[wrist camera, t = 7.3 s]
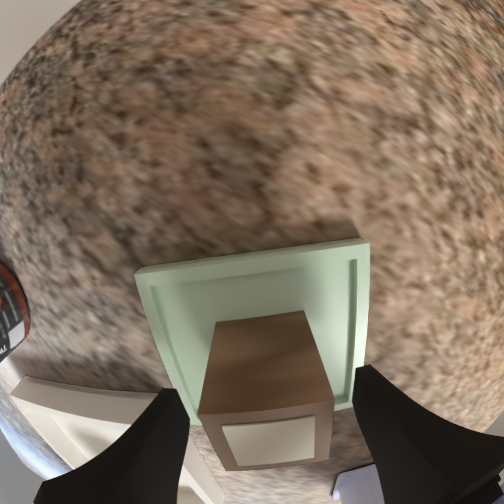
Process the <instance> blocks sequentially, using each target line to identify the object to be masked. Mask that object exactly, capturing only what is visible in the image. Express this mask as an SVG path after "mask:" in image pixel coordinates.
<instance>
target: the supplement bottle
mask: <svg viewBox="0 0 504 504" xmlns="http://www.w3.org/2000/svg"><path fill="white" fill-rule="evenodd" d="M29 330H30V314H29V309H28V306H27V302H26V299H25V297H24V294H23V292H22V290H21V288H20V286H19V284H18V283H17V281H16V279H15V278H14V277H13V275H12V274H11V273H10V271H9V270H8V269H7V268H6V267H4V266H3V265H2V264H0V362H1V361H2V360H3V359H4V358H5V357H7V356H8V355H9V354H10V353H11V352H12V351H13V350H14V349H15V348H16V347H17V346H18V345H19V344H20V343H22V341H23V340H24V339H25V338H26V337H27V335H28V333H29Z"/></svg>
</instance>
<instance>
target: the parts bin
mask: <svg viewBox="0 0 504 504" xmlns="http://www.w3.org/2000/svg"><path fill="white" fill-rule="evenodd" d="M158 394H159V393H146V392H129V391H117V390H106V389H97V388H89V387H82V386H75V385H69V384H63V383H58V382H52V381H47V380H43V379H38V378H33V377H29V376H25V377H24V378H23V379H22V380H21V382H20V383H19V384H18V385H17V386H16V388H15V389H14V390H13V391H12V392H11V394H10V396H11V398H12V399H13V401H14V402H15V404H16V405H17V406H18V408H19V409H20V411H21V412H22V413H23V414H24V416H25V417H26V418H27V420H28V421H29V422H30V423H31V425H32V426H33V427H34V428H35V430H36V431H37V432H38V433H39V434H40V435H41V437H42V438H43V439H44V440H45V441H46V442H47V443H48V444H49V446H50V447H51V448H52V449H53V450H54V451H55V452H56V453H57V454H58V455H59V456H60V457H61V458H62V459H63V460H64V461H65V462H66V463H67V464H68V465H69V466H70V467H71V468H72V469H73V470H74V469H76V468H78V467H80V466H81V465H83V464H85V463H86V462H88V461H89V460H91V459H92V458H94V457H95V456H97V455H98V454H100V453H101V452H103V451H104V450H105V449H106V448H108V447H109V446H110V445H111V444H112V443H114V442H115V441H116V440H117V439H118V438H119V437H120V436H121V435H122V434H123V433H124V432H125V431H126V430H127V429H128V428H129V427H130V426H131V425H132V424H133V423H134V422H135V421H136V419H137V418H138V417H139V416H140V415H141V414H142V413H143V411H144V410H145V409H146V408H147V407H148V406H149V404H150V403H151V402H152V401H153V400H154V398H155V397H156V396H157V395H158ZM223 501H224V490H223V489H222V487H221V486H220V484H219V483H218V481H217V480H216V478H215V477H214V475H213V474H212V472H211V470H210V469H209V467H208V466H207V464H206V462H205V461H204V459H203V457H202V456H201V454H200V452H199V450H198V449H197V447H196V445H195V443H194V442H193V440H192V438H191V436H190V434H189V439H188V444H187V448H186V453H185V457H184V462H183V466H182V470H181V475H180V479H179V485H178V494H177V504H223Z"/></svg>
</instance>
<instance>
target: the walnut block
mask: <svg viewBox="0 0 504 504" xmlns="http://www.w3.org/2000/svg"><path fill="white" fill-rule="evenodd" d="M334 405H335V398H334V395H333V392H332V389H331V386H330V383H329V380H328V377H327V374H326V371H325V368H324V365H323V362H322V359H321V357H320V354H319V351H318V348H317V345H316V342H315V339H314V337H313V334H312V331H311V328H310V325H309V323H308V320H307V317H306V314H305V312H304V310H301V311H295V312H289V313H282V314H275V315H268V316H261V317H253V318H246V319H237V320H229V321H220V322H216V324H215V328H214V333H213V338H212V343H211V348H210V353H209V358H208V362H207V367H206V372H205V377H204V383H203V388H202V393H201V398H200V403H199V408H198V414H197V415H198V417H199V419H200V421H201V423H202V425H203V428H204V430H205V432H206V434H207V436H208V438H209V440H210V442H211V444H212V446H213V448H214V450H215V452H216V453H217V455H218V457H219V459H220V461H221V463H222V465H223V466H224V468H225V470H226V471H245V470H261V469H272V468H281V467H289V466H296V465H303V464H309V463H314V462H320V461H325V460H329V454H330V446H331V437H332V428H333V417H334Z"/></svg>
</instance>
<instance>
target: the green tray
mask: <svg viewBox="0 0 504 504" xmlns="http://www.w3.org/2000/svg"><path fill="white" fill-rule="evenodd" d="M134 278H135V281H136V285H137V288H138V292H139V295H140V298H141V302H142V305H143V308H144V311H145V314H146V317H147V320H148V323H149V326H150V329H151V332H152V334H153V337H154V340H155V343H156V345H157V348H158V351H159V353H160V356H161V358H162V361H163V364H164V366H165V369H166V371H167V373H168V376H169V378H170V381H171V383H172V385H173V388H174V389H177V391H178V393H179V396H180V398H181V400H182V402H183V404H184V407H185V409H186V411H187V413H188V415H189V417H190V424H191V425H202V423H201V421H200V419H199V417H198V415H197V414H198V408H199V403H200V398H201V393H202V388H203V383H204V377H205V372H206V367H207V362H208V358H209V353H210V348H211V343H212V338H213V333H214V328H215V324H216V322H220V321H229V320H237V319H246V318H253V317H261V316H268V315H275V314H282V313H289V312H295V311H301V310H304V312H305V314H306V317H307V320H308V323H309V325H310V328H311V331H312V334H313V337H314V339H315V342H316V345H317V348H318V351H319V354H320V357H321V359H322V362H323V365H324V368H325V371H326V374H327V377H328V380H329V383H330V386H331V389H332V392H333V395H334V398H335V405H334V411H337V410H342V409H346V408H350V407H353V404H352V394H353V387H354V379H355V370H356V368H357V367H361V366H363V364H364V355H365V346H366V336H367V324H368V309H369V287H370V243H369V242H367V241H366V240H364V239H363V238H361V237H359V238H352V239H345V240H337V241H330V242H322V243H315V244H307V245H300V246H293V247H285V248H278V249H270V250H263V251H256V252H248V253H241V254H233V255H226V256H218V257H211V258H204V259H196V260H189V261H181V262H174V263H167V264H159V265H152V266H144V267H141V268H140V269H139V270H138V271H137V272H136V273H135V274H134Z"/></svg>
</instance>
